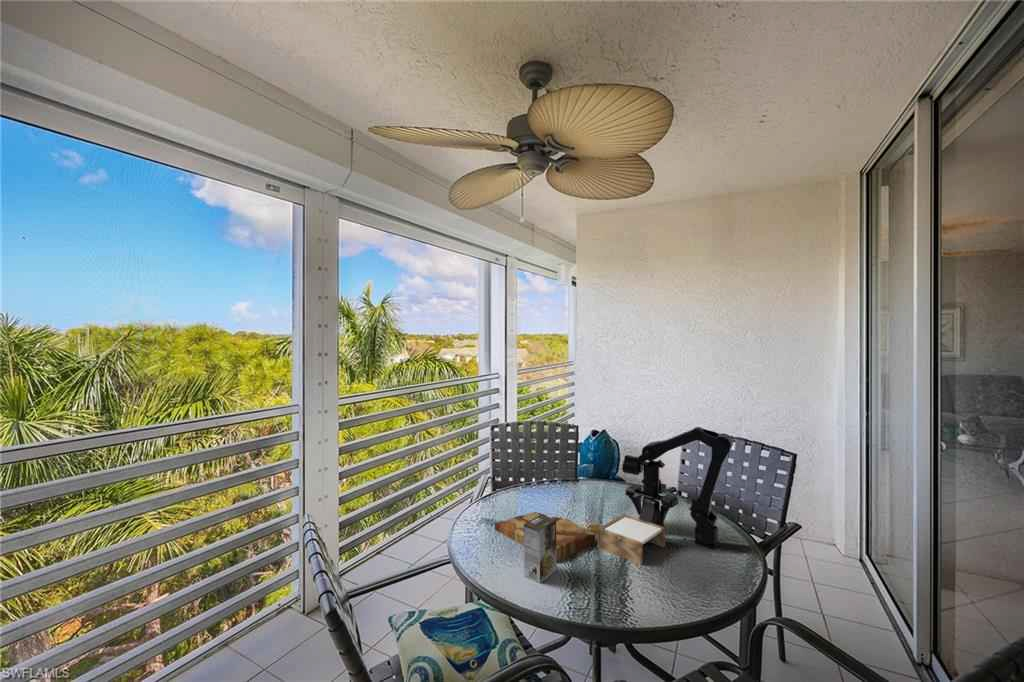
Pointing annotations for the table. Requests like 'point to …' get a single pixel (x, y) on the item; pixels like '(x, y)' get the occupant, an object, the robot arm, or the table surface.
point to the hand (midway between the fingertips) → (651, 518)
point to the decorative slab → (567, 533)
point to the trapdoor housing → (626, 541)
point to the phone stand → (651, 511)
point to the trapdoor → (634, 530)
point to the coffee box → (540, 548)
